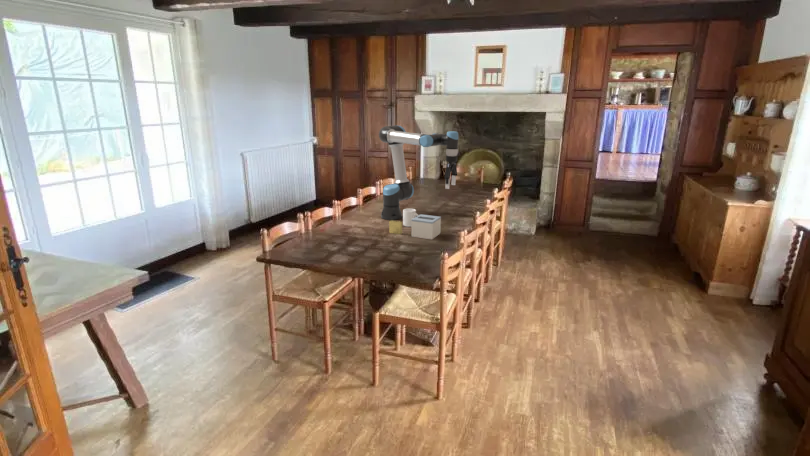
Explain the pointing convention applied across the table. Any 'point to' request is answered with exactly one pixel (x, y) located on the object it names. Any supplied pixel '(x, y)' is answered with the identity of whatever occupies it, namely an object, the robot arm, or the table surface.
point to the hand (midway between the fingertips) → (450, 186)
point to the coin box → (426, 226)
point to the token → (395, 227)
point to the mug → (408, 217)
